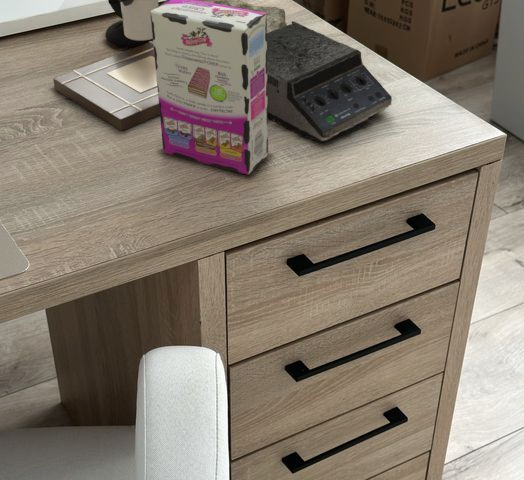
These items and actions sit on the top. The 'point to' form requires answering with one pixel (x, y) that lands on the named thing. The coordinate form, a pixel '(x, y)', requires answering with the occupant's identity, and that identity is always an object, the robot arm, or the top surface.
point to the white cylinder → (138, 19)
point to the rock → (273, 16)
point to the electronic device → (319, 84)
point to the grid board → (116, 87)
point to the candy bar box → (212, 83)
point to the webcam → (121, 31)
